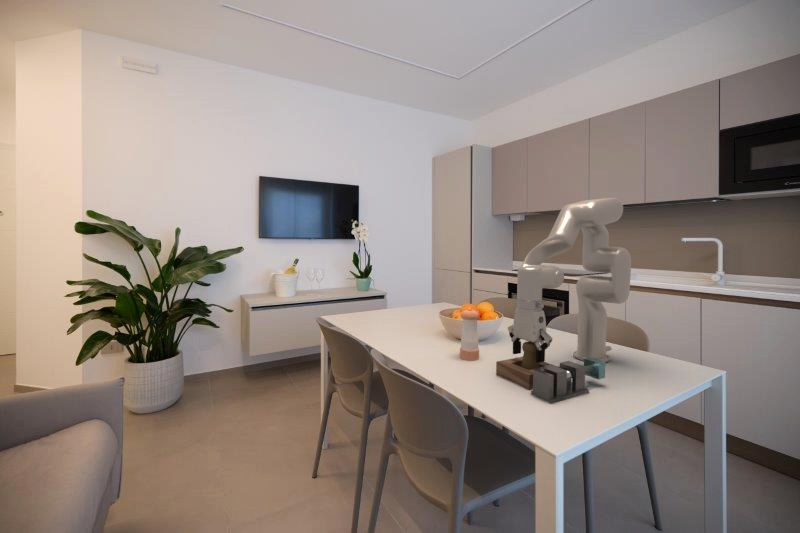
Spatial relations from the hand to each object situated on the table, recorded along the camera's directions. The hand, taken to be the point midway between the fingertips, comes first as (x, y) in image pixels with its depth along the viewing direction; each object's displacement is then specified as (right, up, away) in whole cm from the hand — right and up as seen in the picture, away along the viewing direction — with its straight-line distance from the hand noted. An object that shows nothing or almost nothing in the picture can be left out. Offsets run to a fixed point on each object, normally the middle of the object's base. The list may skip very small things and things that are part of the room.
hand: (528, 357), depth 115 cm
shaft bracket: (+5, -8, -12) cm, 15 cm away
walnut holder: (0, -7, 0) cm, 7 cm away
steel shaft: (+13, -5, -8) cm, 16 cm away
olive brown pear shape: (+1, -6, 0) cm, 6 cm away
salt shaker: (-15, -6, +22) cm, 27 cm away
